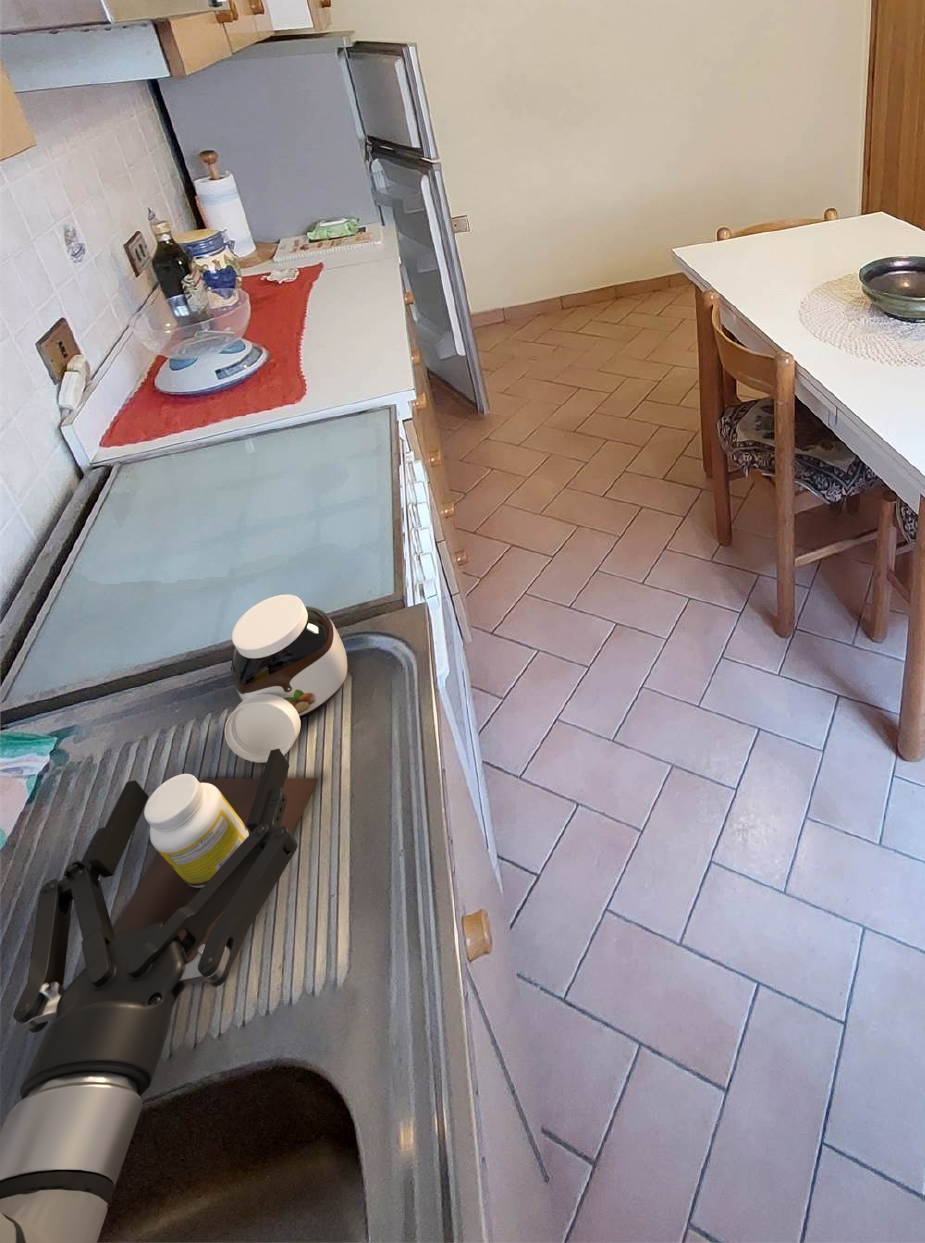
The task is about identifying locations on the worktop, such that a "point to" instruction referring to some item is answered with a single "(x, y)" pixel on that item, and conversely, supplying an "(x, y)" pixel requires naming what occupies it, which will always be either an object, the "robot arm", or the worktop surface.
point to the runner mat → (164, 884)
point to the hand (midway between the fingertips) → (209, 773)
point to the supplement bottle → (193, 827)
